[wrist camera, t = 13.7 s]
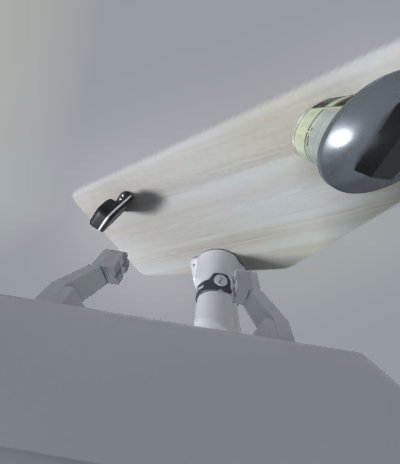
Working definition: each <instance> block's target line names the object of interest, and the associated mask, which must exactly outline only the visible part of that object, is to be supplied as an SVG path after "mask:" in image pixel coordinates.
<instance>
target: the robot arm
mask: <svg viewBox="0 0 400 464" xmlns="http://www.w3.org/2000/svg"><path fill="white" fill-rule="evenodd" d="M127 256H128V255H127V253H126V252H121V251H115V250H109V249H105V250H104V251H103V252H102V253H101V254H100V255H99V257H98V258H97V259H96V260H95V261H94V262H93V263H92V265H88V266H85V267H83V268H81V269H79V270H77V271H75V272H73V273H71V274H69V275H66V276H64V277H62V278H60V279H58V280H56V281H54V282H52V283H51V284H50V285H49V286H48V287H47V288H45V290H44V291H42V292H41V293H40V294H39V295H38V296H37V297H36V299H27V298H22V297H16V296H10V295H4V294H0V464H400V385H399V384H397V383H396V382H395V381H394V380H393V379H392V378H391V377H390V376H388V375H387V374H386V373H385V372H384V371H383V370H382V369H380V368H379V367H378V366H377V365H376V364H375V363H373V362H372V361H371V360H369V359H368V358H367V357H366V356H364V355H363V354H360V353H358V352H353V351H347V350H340V349H334V348H327V347H322V346H316V345H308V344H303V343H297V342H295V340H294V337H293V334H292V331H291V328H290V325H289V322H288V320H287V319H286V318H285V317H284V316H283V314H282V313H281V312H280V311H279V310H278V309H277V308H276V307H275V305H274V304H273V303H272V302H271V301H270V300H269V299H268V297H267V296H266V295H265V294H264V293H263V292H261V291H260V286H259V282H258V278H257V274H256V272H251V271H245V267H244V266H243V265H242V264H240V263H239V261H238V259H237V258H236V257H235V256H234V255H233V254H232V253H230V252H228V251H225V250H218V249H215V250H209V251H206V252H204V253H203V254H201V255H200V256H198V257H196V258H193V259H191V269H192V275H193V281H194V286H195V287H196V290H197V291H196V303H197V305H196V312H195V320H194V326H193V325H187V324H181V323H174V322H169V321H162V320H156V319H150V318H144V317H137V316H132V315H125V314H120V313H113V312H107V311H101V310H95V309H89V308H85V306H84V305H83V303H82V301H84V300H85V299H86V298H88V297H89V296H91V295H92V294H94V293H95V292H96V291H98V290H99V289H100V288H102V287H103V286H104V285H106V284H107V283H111V284H119V283H120V281H121V280H122V278H123V274H124V273H126V272H127V270H128V267H129V260H128V259H127ZM238 304H242V305H243V306H244V308H245V309H246V311H247V313H248V314H249V316H250V318H251V319H252V321H253V323H254V324H255V326H256V327H257V329H256V330H255V332H254V333H253V334H252V335H247V334H242V333H241V328H240V322H239V315H238Z"/></svg>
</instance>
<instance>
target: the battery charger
mask: <svg viewBox="0 0 400 464" xmlns="http://www.w3.org/2000/svg"><path fill="white" fill-rule="evenodd" d="M132 200H133V197H132V195H130V194H128V193H127V192H122V193H121V194H120V196H119V197H118V199H117V200H116V201H114V200H112V199H109V200H107V201H105V202H104V203H103V204H102V205H101V206H100V207H99V208H98V209H97V210H96V212H95V213H94V215H93V217H92V218H91V220H90V224H91V225H92V226H93V227H94V228H96V229H97V230H98V231H101V232H103V231H105V230H106V229H107V228H108V227H109V226H110V225H111V224H112V223H113V222H114V221H115V220H116V219H117V218H118V217H119V216H120V215H121V214H122V213H123V212H124V210H125V209H126V208H127V206H128V205H129V204H130V202H131V201H132Z"/></svg>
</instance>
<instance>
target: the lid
mask: <svg viewBox="0 0 400 464" xmlns="http://www.w3.org/2000/svg"><path fill="white" fill-rule="evenodd" d="M317 165H318V170H319V173H320V175H321V177H322V178H323V180H324V181H325V182H326V183H328V184H329V185H330V186H332V187H334V188H335V189H337V190H339V191H342V192H346V193H366V192H371V191H376V190H379V189H382V188H385V187H387V186H390V185H392V184H394V183H396V182H398V181H400V70H398V71H395V72H392V73H389V74H387V75H385V76H383V77H381V78H379V79H377V80H375V81H373V82H372V83H370V84H369V85H367V86H365V87H364V88H363V89H361V90H360V91H359V92H358V93H356V94H355V95H354V96H353V97H352V98H351V99H350V100H348V101H347V102H346V103H345V105H344V106H343V107H342V108H341V109H340V110H339V111H338V112H337V114H336V115H335V116H334V118H333V119H332V121H331V122H330V123H329V125H328V127H327V129H326V130H325V132H324V134H323V137H322V139H321V142H320V145H319V148H318V154H317Z"/></svg>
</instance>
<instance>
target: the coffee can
mask: <svg viewBox="0 0 400 464" xmlns="http://www.w3.org/2000/svg"><path fill="white" fill-rule="evenodd" d="M353 96H354V95H350V96H344V97H338V98H328V99H324V100H322V101H319V102H317V103H316V104H314V105H313V106H311V107H310V108H309V109H308V110H307V111H306V112H305V113H304V114H303V115H302V116H301V118H300V119H299V121H298V122H297V124H296V127H295V129H294V132H293V138H292V143H293V148H294V150H295V152H296V153H297V154H298V155H299V156H300V157H301V158H304V159H307V160H308V161H310V162H312V163H314V164H316V165H317V154H318V148H319V145H320V142H321V139H322V137H323V134H324V132H325V130H326V129H327V127H328V125H329V123H330V122H331V121H332V119H333V118H334V116H335V115H336V114H337V112H338V111H339V110H340V109H341V108H342V107H343V106H344V105H345V103H346V102H347V101H348V100H350V99H351V98H352V97H353Z"/></svg>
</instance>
